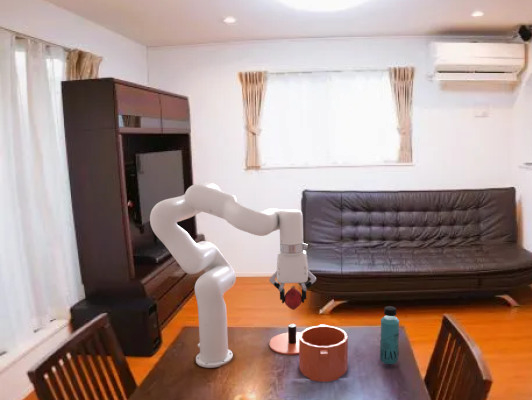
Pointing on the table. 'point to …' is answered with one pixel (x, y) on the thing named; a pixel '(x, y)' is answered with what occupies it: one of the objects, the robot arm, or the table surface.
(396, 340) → the beverage bottle
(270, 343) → the lid
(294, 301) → the onion
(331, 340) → the dutch oven
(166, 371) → the table surface
